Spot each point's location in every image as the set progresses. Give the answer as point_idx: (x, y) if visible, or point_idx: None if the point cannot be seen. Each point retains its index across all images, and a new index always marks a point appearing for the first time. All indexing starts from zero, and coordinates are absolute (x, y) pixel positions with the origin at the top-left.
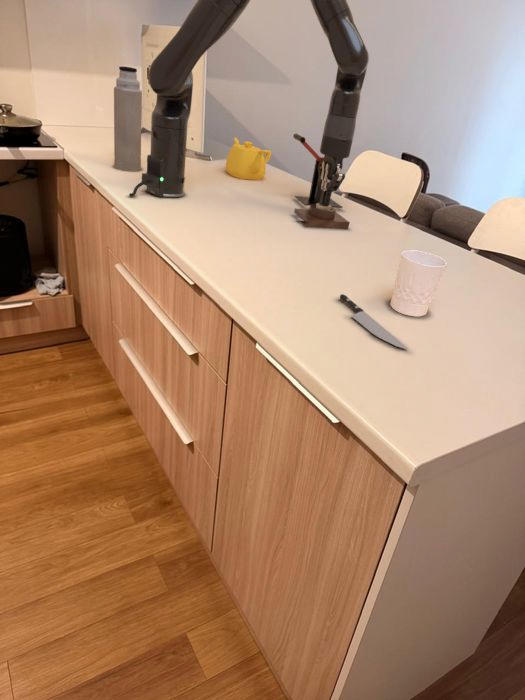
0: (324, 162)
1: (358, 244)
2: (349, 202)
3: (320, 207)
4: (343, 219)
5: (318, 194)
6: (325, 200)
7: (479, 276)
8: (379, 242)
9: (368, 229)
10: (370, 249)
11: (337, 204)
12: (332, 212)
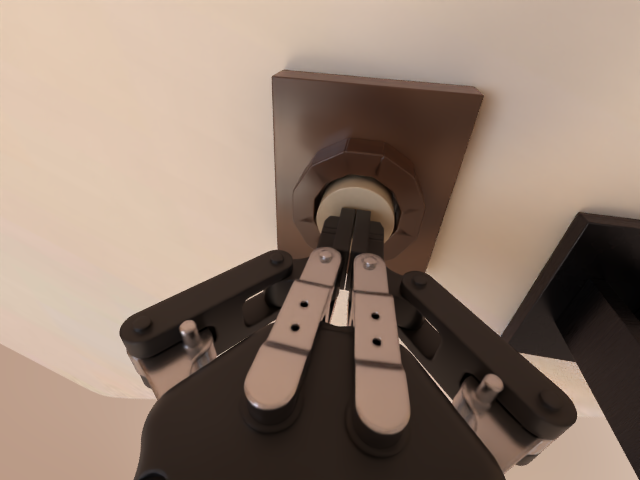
0: (363, 422)
1: (139, 200)
2: (589, 408)
3: (330, 191)
4: None
5: (605, 316)
6: (323, 229)
7: (52, 339)
8: (185, 274)
9: None
10: (107, 213)
11: (539, 351)
12: (298, 227)
